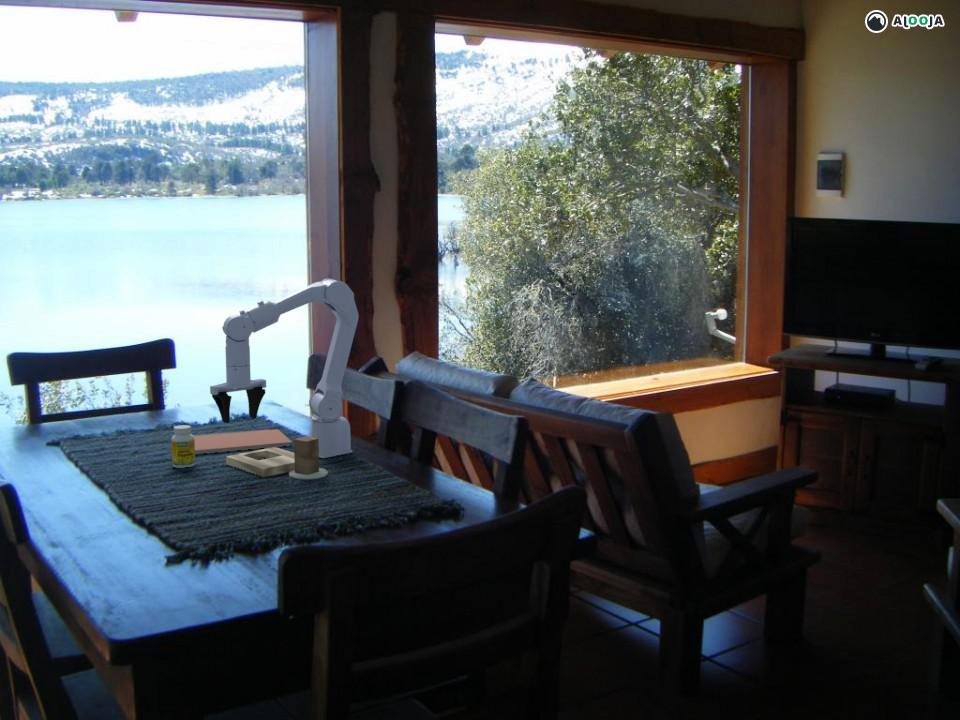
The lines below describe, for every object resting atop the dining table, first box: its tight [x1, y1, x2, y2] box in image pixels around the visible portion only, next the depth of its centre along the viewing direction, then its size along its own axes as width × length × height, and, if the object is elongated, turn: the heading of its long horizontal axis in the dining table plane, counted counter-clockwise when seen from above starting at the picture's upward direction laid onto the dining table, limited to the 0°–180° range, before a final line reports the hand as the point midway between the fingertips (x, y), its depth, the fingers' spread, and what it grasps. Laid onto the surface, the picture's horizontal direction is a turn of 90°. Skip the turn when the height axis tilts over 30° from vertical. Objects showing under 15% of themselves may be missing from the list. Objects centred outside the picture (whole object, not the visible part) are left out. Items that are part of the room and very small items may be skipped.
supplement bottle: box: [171, 424, 196, 469], centre depth 252 cm, size 5×5×10 cm
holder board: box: [225, 447, 295, 478], centre depth 253 cm, size 14×16×2 cm
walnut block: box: [293, 435, 320, 475], centre depth 245 cm, size 4×4×8 cm
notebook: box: [192, 428, 293, 455], centre depth 275 cm, size 27×17×2 cm, turn 114°
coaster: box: [288, 467, 329, 481], centre depth 246 cm, size 9×9×1 cm
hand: (239, 420), depth 255 cm, fingers open, 7 cm apart
